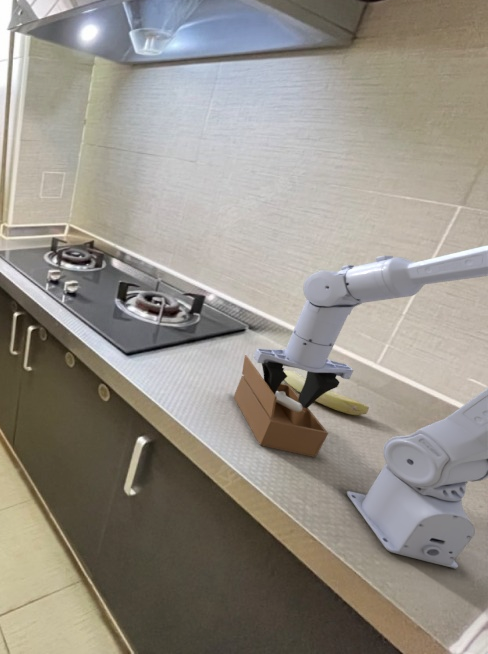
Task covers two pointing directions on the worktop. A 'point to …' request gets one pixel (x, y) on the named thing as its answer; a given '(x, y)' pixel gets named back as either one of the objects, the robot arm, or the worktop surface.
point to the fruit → (328, 396)
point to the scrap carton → (281, 422)
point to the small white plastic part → (288, 402)
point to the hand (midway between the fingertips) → (284, 400)
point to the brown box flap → (259, 386)
